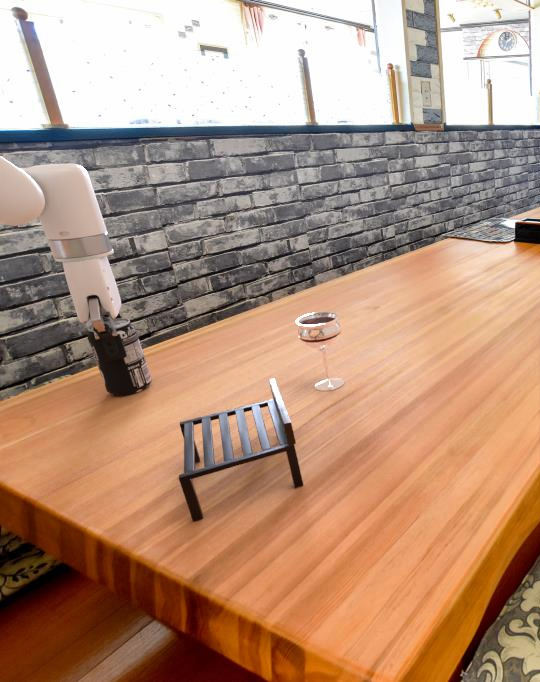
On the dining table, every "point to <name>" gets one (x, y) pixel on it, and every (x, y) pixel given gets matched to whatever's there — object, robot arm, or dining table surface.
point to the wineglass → (321, 340)
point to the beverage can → (123, 362)
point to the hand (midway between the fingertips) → (117, 350)
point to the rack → (282, 432)
